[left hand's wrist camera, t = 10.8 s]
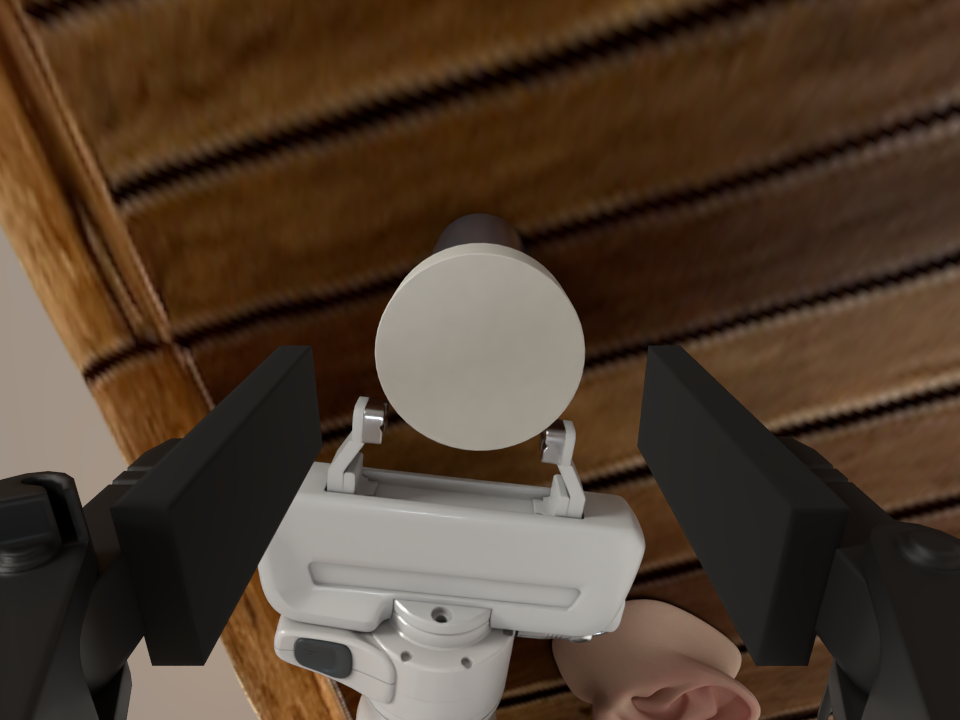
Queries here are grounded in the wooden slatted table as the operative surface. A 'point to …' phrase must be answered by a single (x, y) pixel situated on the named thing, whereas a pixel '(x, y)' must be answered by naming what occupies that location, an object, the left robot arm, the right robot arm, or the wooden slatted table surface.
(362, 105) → the wooden slatted table surface
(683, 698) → the anatomical model
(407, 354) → the lid
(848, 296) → the wooden slatted table surface
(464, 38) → the wooden slatted table surface
